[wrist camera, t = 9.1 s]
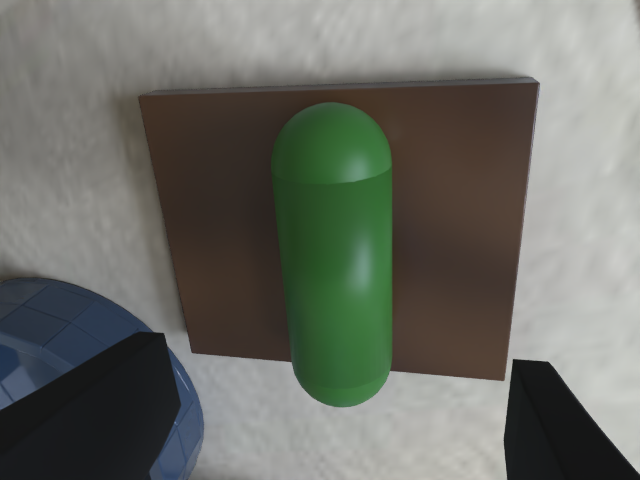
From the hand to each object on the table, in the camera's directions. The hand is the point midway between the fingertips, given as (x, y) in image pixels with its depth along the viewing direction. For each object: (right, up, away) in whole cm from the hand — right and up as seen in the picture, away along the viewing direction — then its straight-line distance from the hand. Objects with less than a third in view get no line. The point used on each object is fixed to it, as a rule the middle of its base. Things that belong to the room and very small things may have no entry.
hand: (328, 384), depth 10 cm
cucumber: (0, +3, +8) cm, 8 cm away
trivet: (0, +3, +9) cm, 9 cm away
